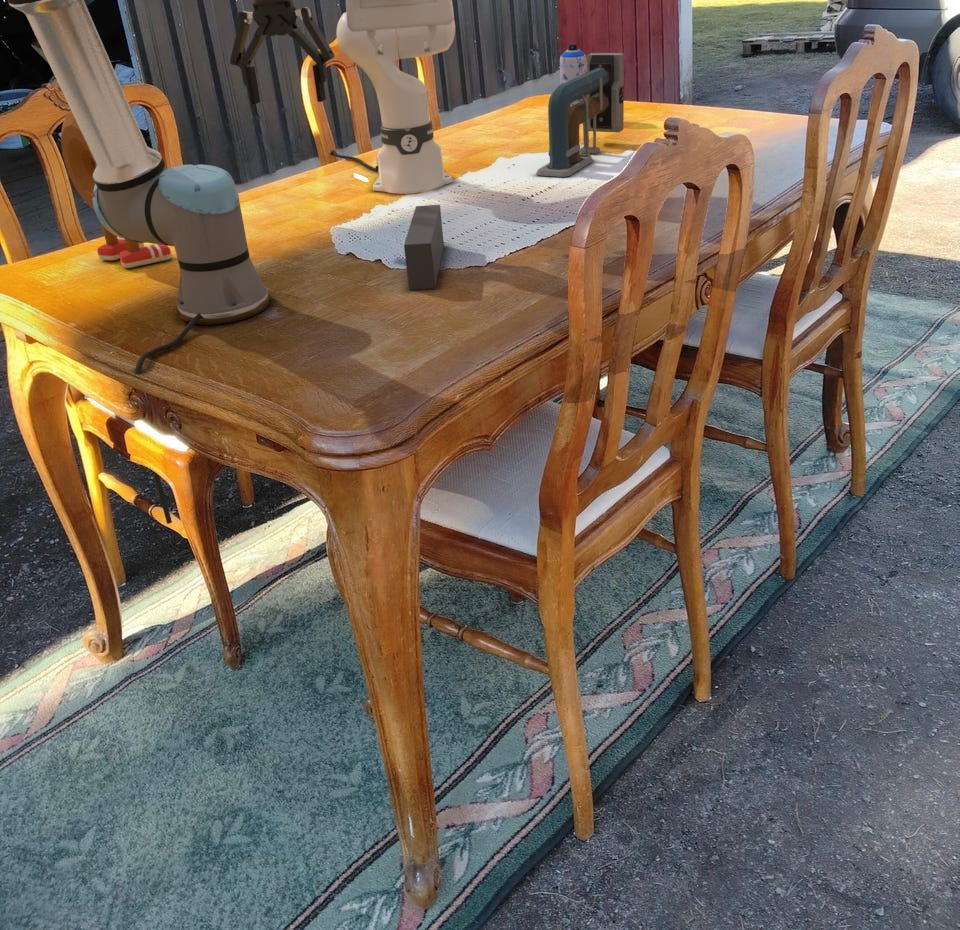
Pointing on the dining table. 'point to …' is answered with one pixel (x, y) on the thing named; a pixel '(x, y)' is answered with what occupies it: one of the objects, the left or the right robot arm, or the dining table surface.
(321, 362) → the dining table surface
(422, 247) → the bar
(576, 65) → the aerosol can
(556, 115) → the clamp
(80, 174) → the toy
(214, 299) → the left robot arm
